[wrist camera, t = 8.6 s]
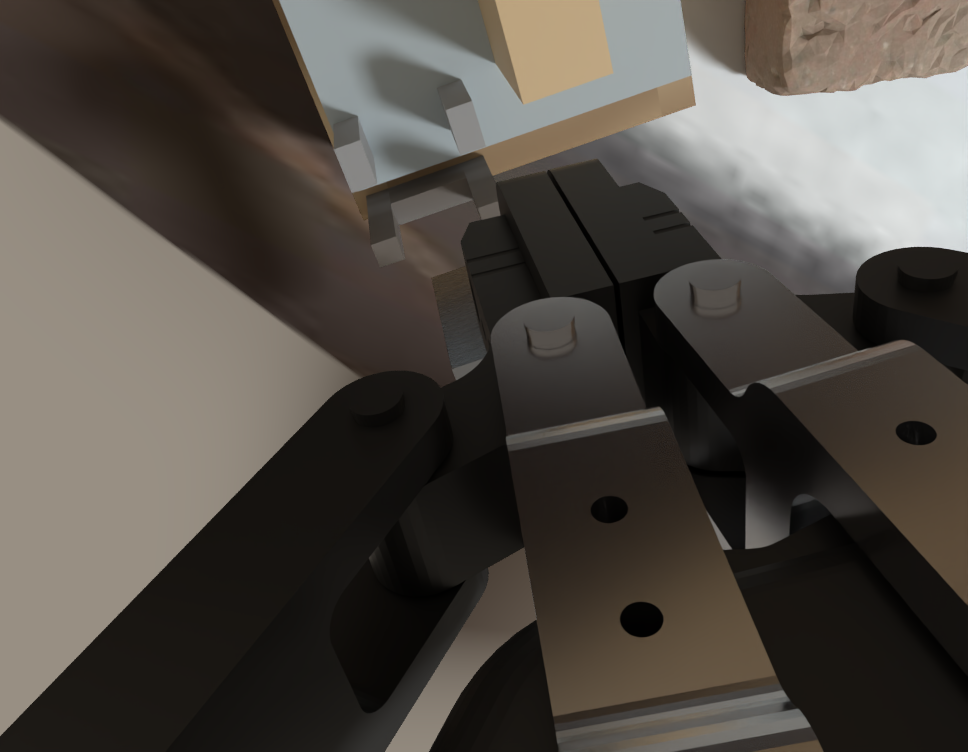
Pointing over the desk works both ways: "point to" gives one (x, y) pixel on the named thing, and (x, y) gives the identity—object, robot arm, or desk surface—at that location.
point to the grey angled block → (459, 321)
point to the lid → (473, 70)
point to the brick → (851, 42)
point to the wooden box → (488, 160)
